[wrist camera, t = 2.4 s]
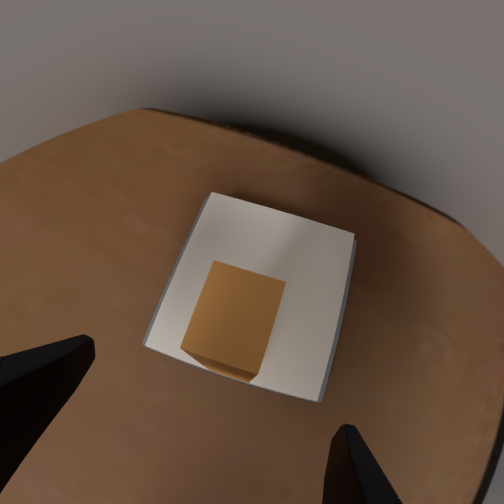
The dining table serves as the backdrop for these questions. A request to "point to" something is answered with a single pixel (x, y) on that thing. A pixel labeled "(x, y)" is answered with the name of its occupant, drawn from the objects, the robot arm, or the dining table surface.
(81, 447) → the dining table surface
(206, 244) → the lid
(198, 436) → the dining table surface
